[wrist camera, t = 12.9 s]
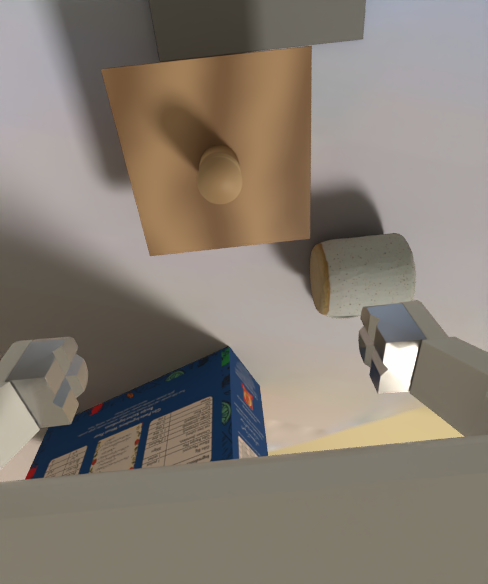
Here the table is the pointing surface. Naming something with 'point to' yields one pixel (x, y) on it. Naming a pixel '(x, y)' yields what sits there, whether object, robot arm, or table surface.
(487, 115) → the table surface
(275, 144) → the lid
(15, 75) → the table surface
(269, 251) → the table surface
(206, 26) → the mat
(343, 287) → the ceramic mug
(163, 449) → the pasta box
